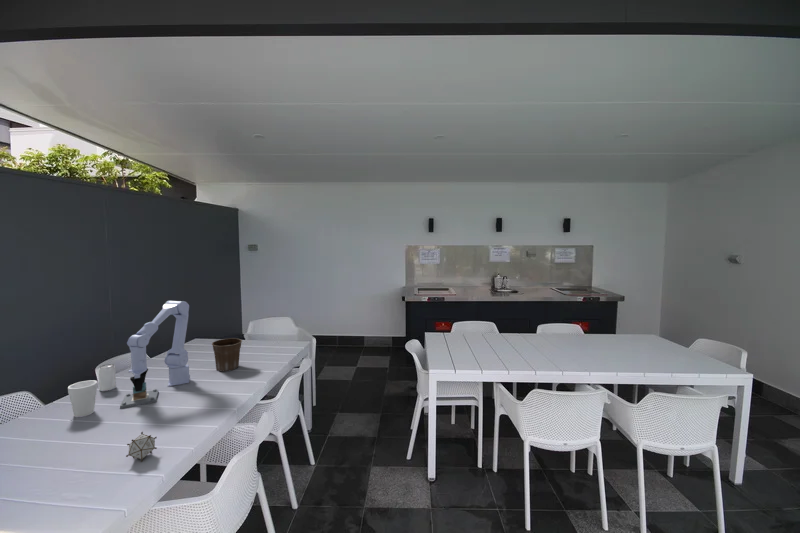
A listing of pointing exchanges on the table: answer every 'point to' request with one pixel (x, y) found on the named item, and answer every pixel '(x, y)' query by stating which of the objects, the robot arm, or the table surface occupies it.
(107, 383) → the grey cylinder
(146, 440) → the game die
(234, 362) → the plant pot
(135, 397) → the teal and brown block
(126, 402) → the plate
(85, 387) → the foam cup
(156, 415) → the table surface
